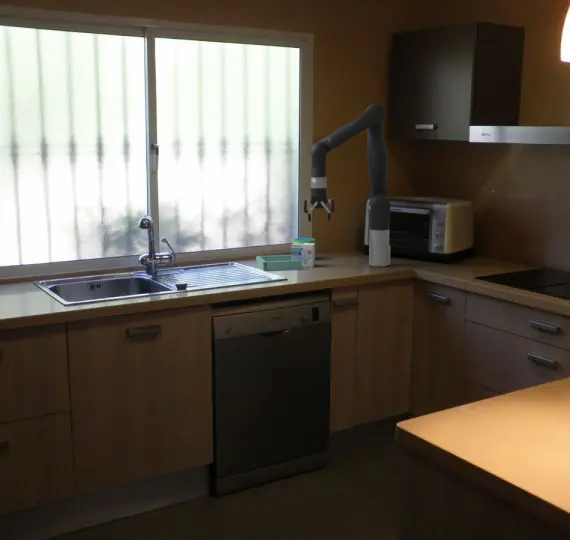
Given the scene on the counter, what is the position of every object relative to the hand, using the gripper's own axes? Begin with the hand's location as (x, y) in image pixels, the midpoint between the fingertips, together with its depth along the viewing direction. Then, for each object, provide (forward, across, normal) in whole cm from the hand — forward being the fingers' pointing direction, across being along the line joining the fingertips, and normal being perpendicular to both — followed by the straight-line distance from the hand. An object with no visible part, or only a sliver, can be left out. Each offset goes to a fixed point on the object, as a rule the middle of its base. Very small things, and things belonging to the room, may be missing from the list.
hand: (319, 221), depth 355 cm
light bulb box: (+21, +8, 0) cm, 23 cm away
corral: (+21, +20, +2) cm, 29 cm away
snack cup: (+21, +6, -19) cm, 29 cm away
